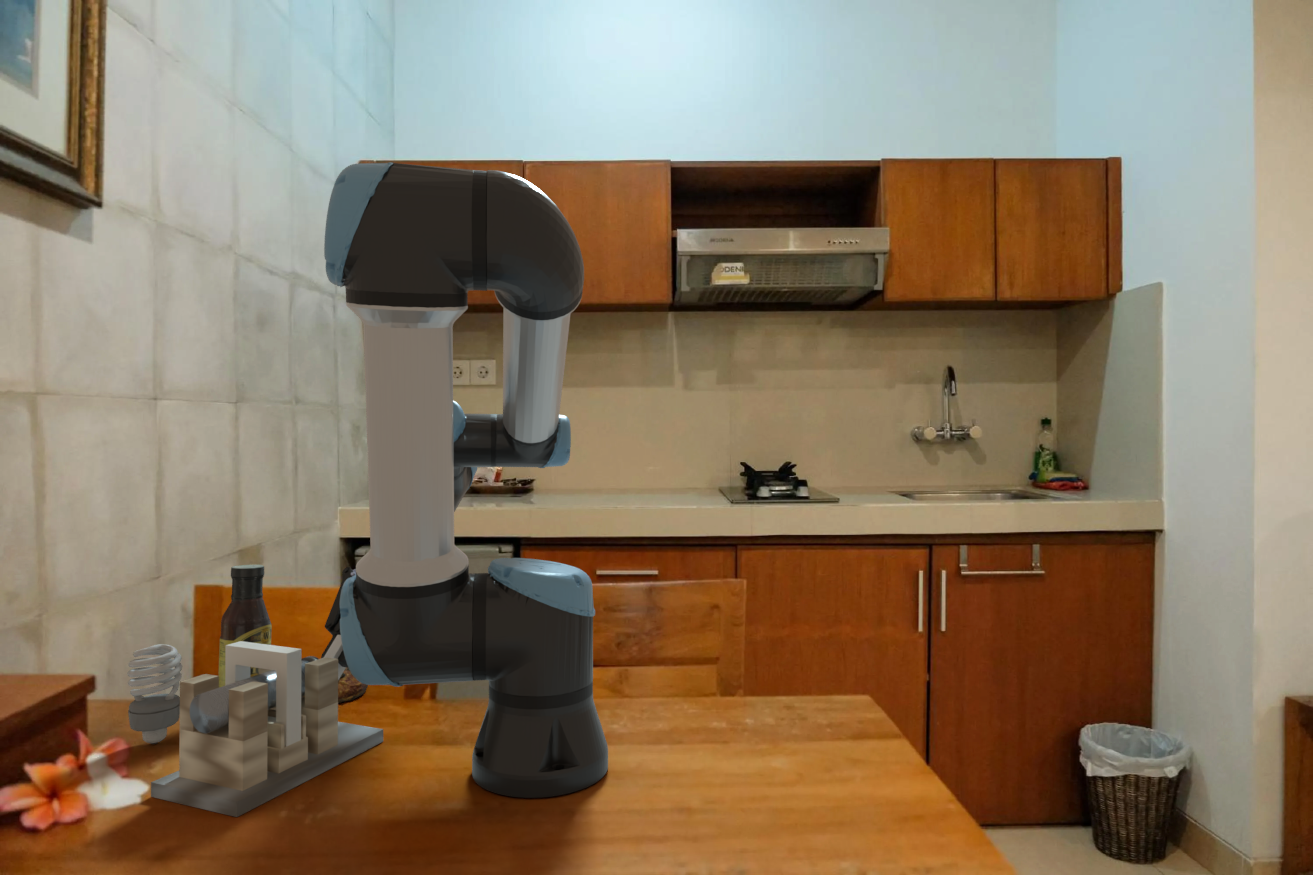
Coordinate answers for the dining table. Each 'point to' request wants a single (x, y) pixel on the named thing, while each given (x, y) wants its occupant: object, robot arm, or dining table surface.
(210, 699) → the shaft
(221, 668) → the sauce bottle
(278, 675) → the grey arch-shaped block
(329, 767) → the grey block assembly base
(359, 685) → the bread roll
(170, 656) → the light bulb
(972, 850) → the dining table surface
